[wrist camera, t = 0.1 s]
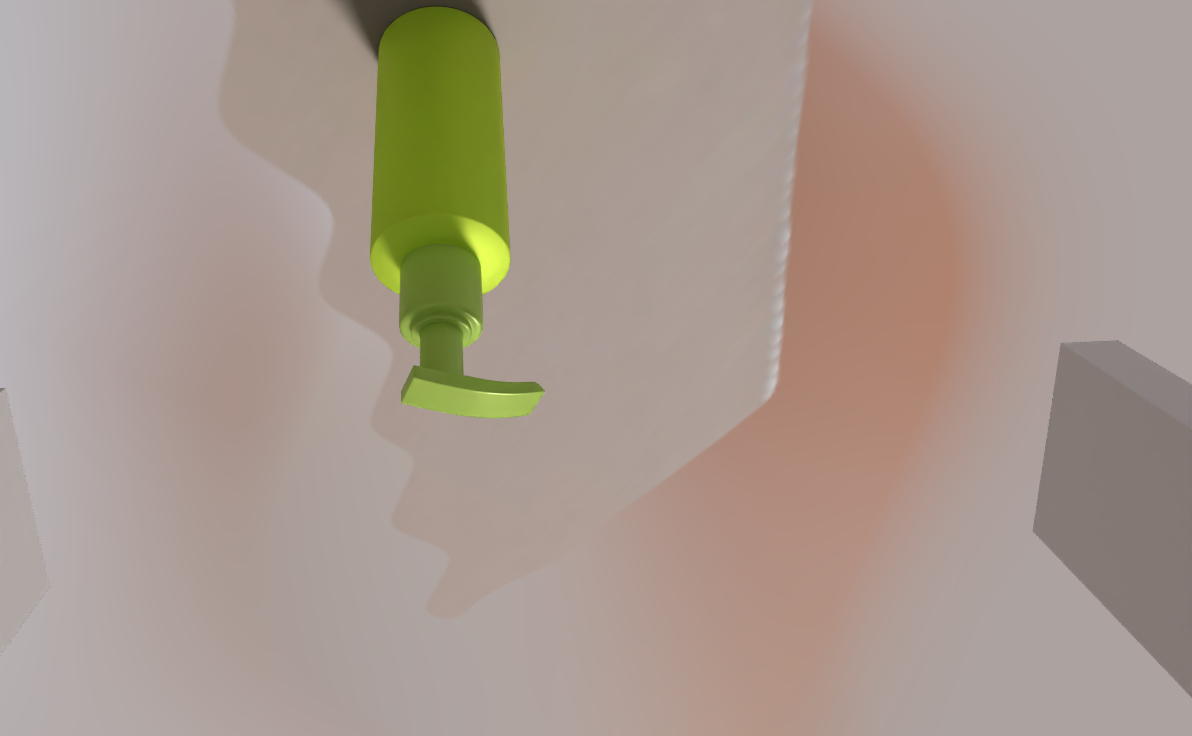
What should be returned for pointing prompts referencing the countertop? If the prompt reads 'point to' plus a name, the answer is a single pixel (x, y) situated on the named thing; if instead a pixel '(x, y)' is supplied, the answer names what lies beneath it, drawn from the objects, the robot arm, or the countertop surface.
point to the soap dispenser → (443, 203)
